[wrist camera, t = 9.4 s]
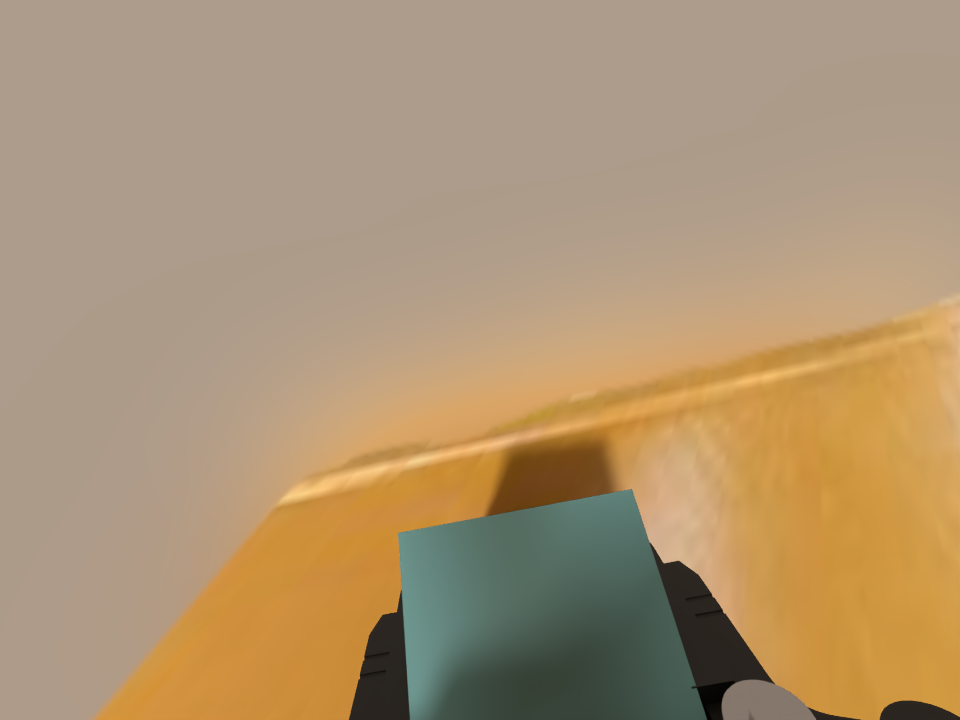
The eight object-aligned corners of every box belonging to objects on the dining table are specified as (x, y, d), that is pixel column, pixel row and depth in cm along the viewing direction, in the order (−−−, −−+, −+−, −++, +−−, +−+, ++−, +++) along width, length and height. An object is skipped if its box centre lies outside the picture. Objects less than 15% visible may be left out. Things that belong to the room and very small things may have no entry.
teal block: (592, 543, 15) (632, 489, 9) (637, 713, 13) (736, 811, 6) (457, 568, 15) (398, 533, 9) (478, 741, 13) (419, 866, 7)
